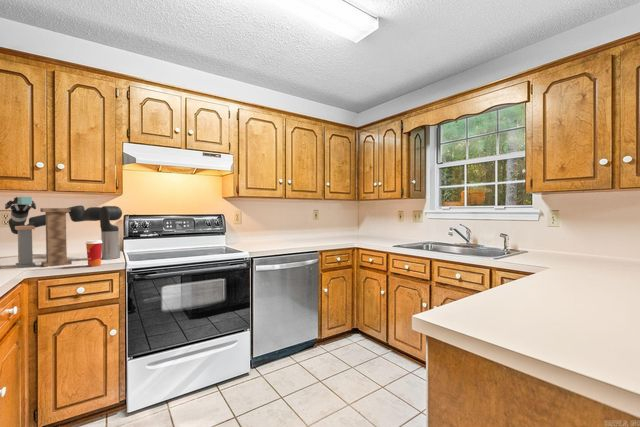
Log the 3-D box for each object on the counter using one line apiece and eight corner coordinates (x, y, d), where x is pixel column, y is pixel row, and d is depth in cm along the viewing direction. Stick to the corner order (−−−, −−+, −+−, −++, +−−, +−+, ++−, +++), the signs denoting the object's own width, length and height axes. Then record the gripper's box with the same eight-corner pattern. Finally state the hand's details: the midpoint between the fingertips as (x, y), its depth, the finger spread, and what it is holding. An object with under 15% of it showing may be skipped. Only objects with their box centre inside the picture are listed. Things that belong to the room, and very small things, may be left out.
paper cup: (88, 265, 176) (87, 240, 176) (104, 264, 179) (104, 239, 178) (83, 267, 169) (83, 241, 168) (100, 266, 171) (100, 240, 171)
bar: (26, 204, 185) (25, 197, 185) (31, 204, 169) (31, 196, 169) (16, 204, 182) (16, 197, 182) (21, 204, 166) (21, 196, 166)
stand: (68, 262, 185) (67, 208, 184) (71, 264, 180) (70, 208, 179) (41, 265, 176) (40, 208, 175) (43, 267, 171) (42, 208, 170)
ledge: (32, 263, 182) (31, 225, 182) (35, 266, 174) (34, 226, 174) (15, 265, 177) (14, 226, 176) (18, 267, 169) (17, 227, 168)
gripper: (2, 207, 186) (4, 192, 176) (34, 207, 196) (38, 193, 186) (3, 218, 183) (5, 204, 173) (36, 218, 194) (39, 204, 184)
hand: (22, 198), depth 180 cm, fingers closed on bar, 4 cm apart
